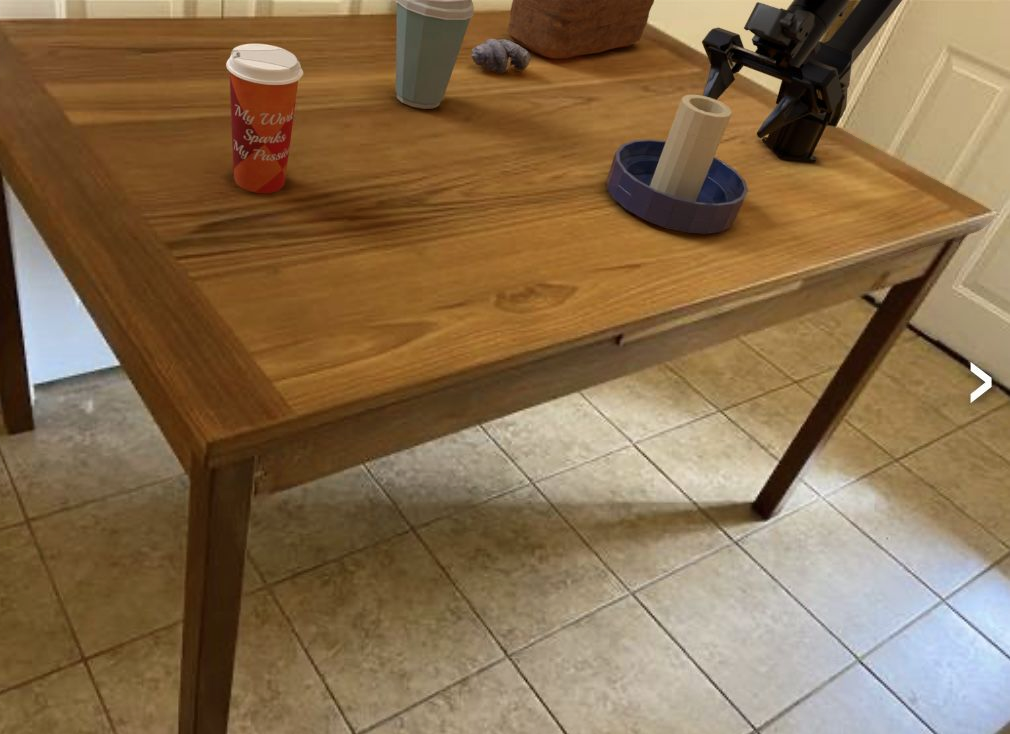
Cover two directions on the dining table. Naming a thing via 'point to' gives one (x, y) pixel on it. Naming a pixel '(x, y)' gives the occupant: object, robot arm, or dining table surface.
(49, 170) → the dining table surface
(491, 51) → the grey croissant
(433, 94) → the disposable coffee cup
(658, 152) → the bowl
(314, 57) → the dining table surface
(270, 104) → the paper cup
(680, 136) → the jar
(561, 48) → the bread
